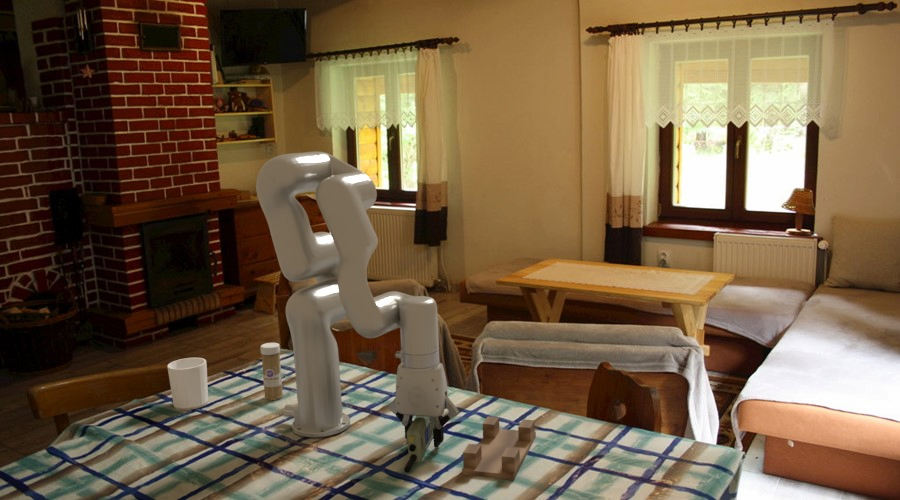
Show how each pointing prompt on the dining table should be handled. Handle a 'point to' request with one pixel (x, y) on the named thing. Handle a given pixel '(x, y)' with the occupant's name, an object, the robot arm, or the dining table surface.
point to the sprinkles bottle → (271, 371)
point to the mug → (188, 383)
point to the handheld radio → (418, 439)
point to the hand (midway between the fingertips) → (424, 442)
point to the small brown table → (499, 450)
